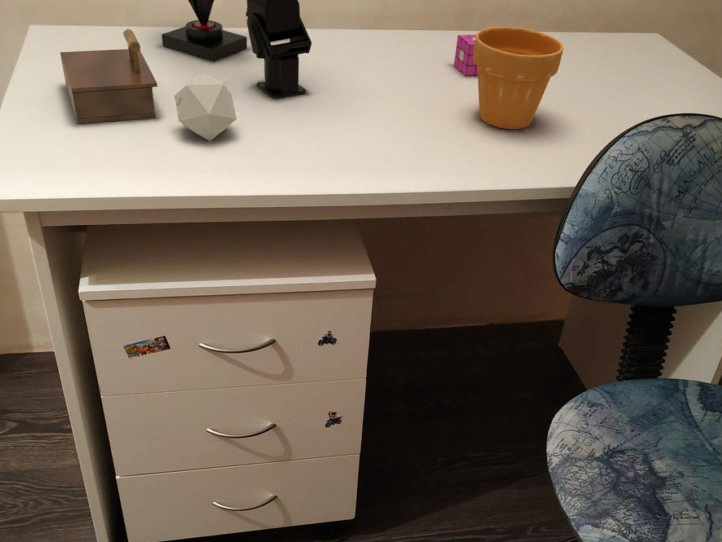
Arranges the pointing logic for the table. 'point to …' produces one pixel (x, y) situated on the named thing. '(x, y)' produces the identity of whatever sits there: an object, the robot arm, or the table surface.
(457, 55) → the puzzle toy
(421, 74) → the table surface
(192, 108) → the die
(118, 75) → the lid
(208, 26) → the release button
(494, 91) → the flower pot
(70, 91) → the compartment
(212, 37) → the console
